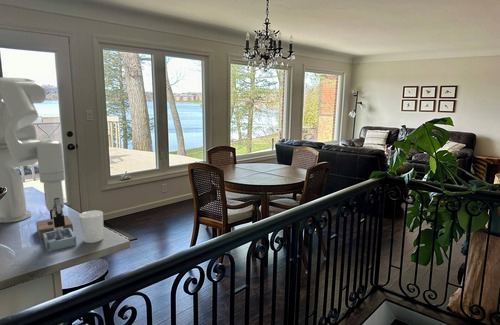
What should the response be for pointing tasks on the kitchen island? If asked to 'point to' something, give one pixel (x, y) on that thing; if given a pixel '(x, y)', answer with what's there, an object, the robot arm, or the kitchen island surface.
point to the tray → (63, 243)
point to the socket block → (50, 226)
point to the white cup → (92, 226)
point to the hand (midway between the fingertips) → (57, 222)
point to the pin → (57, 230)
